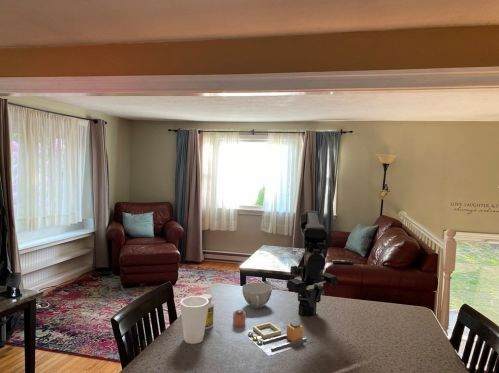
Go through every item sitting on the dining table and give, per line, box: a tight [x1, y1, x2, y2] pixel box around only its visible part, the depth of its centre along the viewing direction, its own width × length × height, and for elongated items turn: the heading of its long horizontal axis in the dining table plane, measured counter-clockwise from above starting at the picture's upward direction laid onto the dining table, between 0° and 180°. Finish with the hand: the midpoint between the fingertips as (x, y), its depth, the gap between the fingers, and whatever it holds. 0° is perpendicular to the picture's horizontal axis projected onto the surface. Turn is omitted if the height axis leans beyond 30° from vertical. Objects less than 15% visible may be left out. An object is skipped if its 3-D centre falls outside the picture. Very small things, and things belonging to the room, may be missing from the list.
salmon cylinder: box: [232, 309, 246, 328], centre depth 128 cm, size 4×4×6 cm
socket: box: [252, 321, 282, 339], centre depth 123 cm, size 7×7×1 cm
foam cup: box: [179, 295, 209, 345], centre depth 118 cm, size 10×9×13 cm
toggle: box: [287, 321, 304, 341], centre depth 119 cm, size 4×4×5 cm
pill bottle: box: [199, 293, 215, 330], centre depth 128 cm, size 6×6×11 cm
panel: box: [241, 320, 314, 357], centre depth 120 cm, size 18×17×2 cm
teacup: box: [241, 281, 273, 309], centre depth 146 cm, size 15×12×8 cm
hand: (311, 306), depth 122 cm, fingers closed
